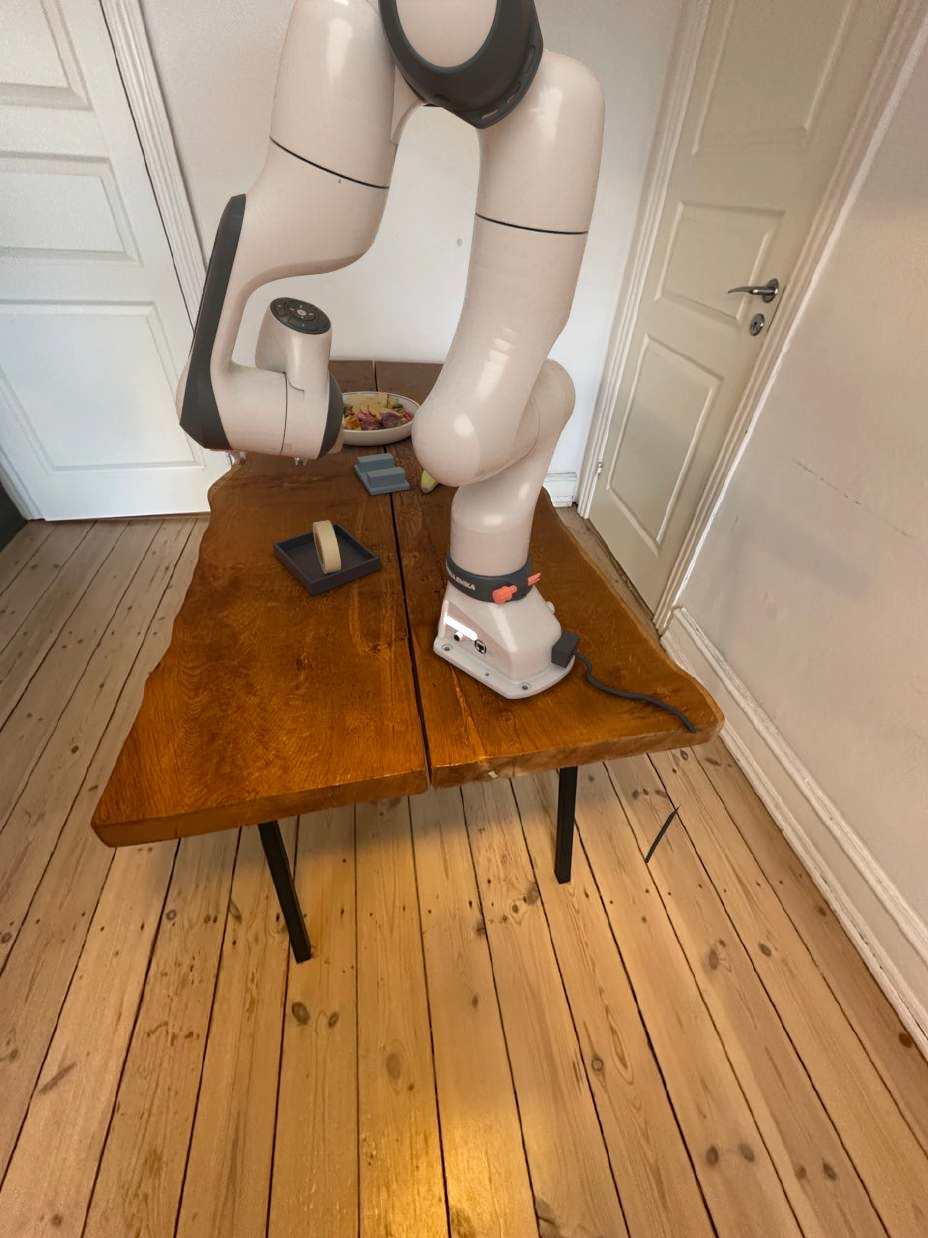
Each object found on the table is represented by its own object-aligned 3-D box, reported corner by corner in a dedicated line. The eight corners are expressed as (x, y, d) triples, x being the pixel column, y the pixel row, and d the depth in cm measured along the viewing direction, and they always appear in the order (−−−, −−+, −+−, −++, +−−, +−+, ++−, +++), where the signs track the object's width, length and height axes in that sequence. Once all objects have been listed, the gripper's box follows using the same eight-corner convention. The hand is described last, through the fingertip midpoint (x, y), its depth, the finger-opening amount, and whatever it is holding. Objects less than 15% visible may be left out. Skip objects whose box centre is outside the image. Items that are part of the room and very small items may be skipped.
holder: (410, 489, 122) (409, 474, 120) (371, 495, 119) (369, 480, 117) (390, 463, 132) (390, 449, 130) (354, 469, 129) (352, 454, 127)
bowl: (289, 423, 149) (284, 394, 144) (380, 401, 165) (379, 374, 160) (350, 461, 132) (346, 429, 127) (444, 432, 148) (445, 403, 143)
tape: (339, 577, 98) (343, 562, 90) (324, 580, 97) (326, 565, 89) (326, 530, 99) (329, 511, 91) (311, 533, 98) (313, 514, 90)
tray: (380, 569, 98) (379, 557, 97) (313, 595, 92) (311, 583, 90) (339, 533, 107) (337, 521, 106) (274, 554, 101) (272, 543, 99)
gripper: (205, 418, 72) (203, 478, 83) (355, 426, 81) (335, 478, 93) (198, 379, 73) (197, 443, 85) (346, 391, 83) (327, 447, 95)
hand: (270, 461), depth 89 cm, fingers open, 8 cm apart
